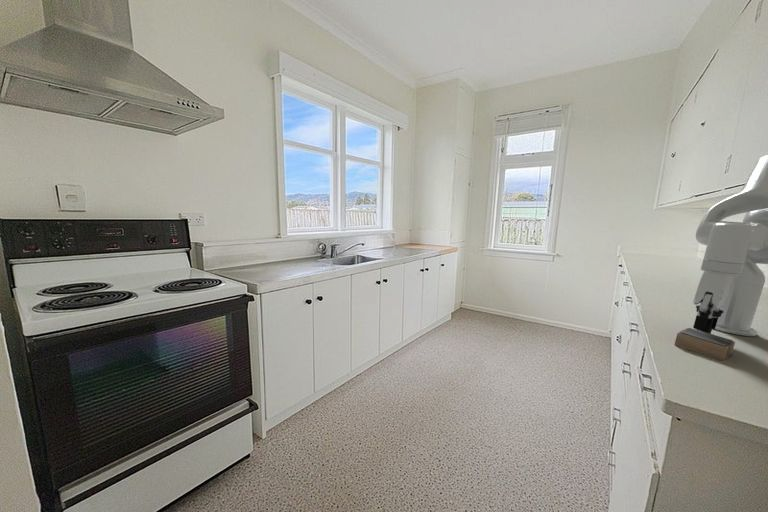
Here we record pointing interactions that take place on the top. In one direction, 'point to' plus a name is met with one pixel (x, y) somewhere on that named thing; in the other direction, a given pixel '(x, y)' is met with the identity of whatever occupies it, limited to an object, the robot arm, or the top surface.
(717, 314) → the push button
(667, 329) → the top surface
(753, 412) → the top surface
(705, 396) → the top surface
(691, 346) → the stand
